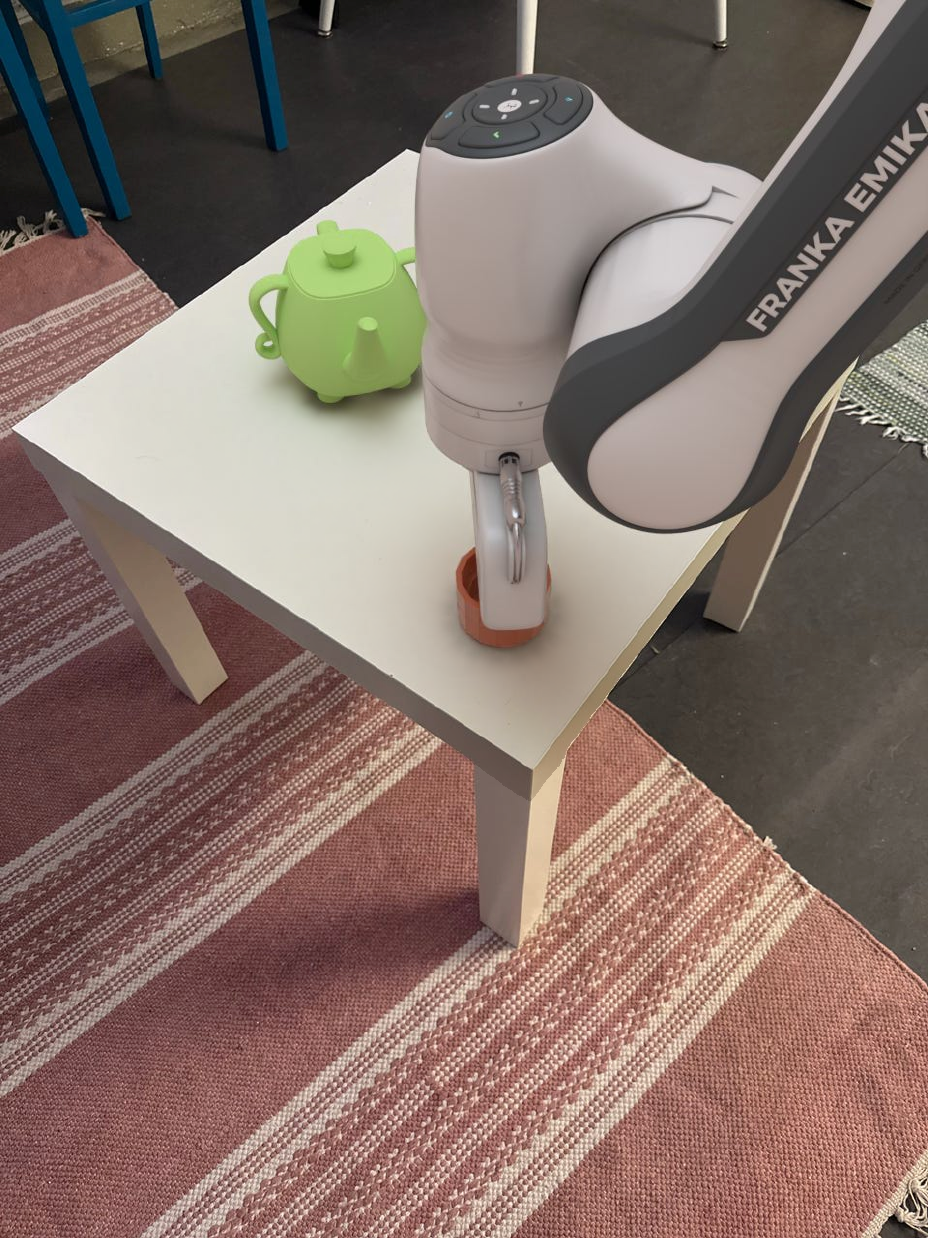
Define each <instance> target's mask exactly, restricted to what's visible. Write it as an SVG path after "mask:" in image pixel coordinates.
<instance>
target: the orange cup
mask: <svg viewBox="0 0 928 1238" xmlns="http://www.w3.org/2000/svg"><path fill="white" fill-rule="evenodd" d="M460 558H461V559H460V560H459V563H458V565H457V567H456V570H455V585H456V586H455V587H456V588H455V589H456V605H457V619H458V621H459V623H460V624H461V626H462V628H463V629H464V631H465V632H466V633H467V634H468V635H470V637H472V638H473V639H475V640H476V641H477V642H479V643H481V644H485V645H488V646H492V647H495V648H506V647H507V648H508V647H516V646H518V645H521V644H523V643H524V644H525V643H526V642H528V641H531V640H532V639H534V637H536V636H537V634H538V633H540V632H541V631H542V630H543V629H544V627H545V624H546V623H547V620H548V617H549V614H550V613H549V612H550V603H551V602H550V599H551V591H552V589H551V588H552V575H551V567H550V565H549V563H548V564H547V589H546V606H545V617H544V620H543V622H542V623H541V624H540V625H539V626H537V627H533V628H527V629H518V630H494V629H489V628H487V627H486V626H485V625H484V624H483V621H482V618H481V611H480V599H479V587H478V575H477V563H476V550H475V546H473V547H472V548H471V549H470V550H469V551H467V552H466V553H465V554H464V555H463V556H462V557H460Z"/></svg>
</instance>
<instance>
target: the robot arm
mask: <svg viewBox="0 0 928 1238" xmlns="http://www.w3.org/2000/svg"><path fill="white" fill-rule="evenodd" d="M416 169H417V170H416V178H415V193H414V194H415V196H414V220H413V221H414V222H413V224H414V225H413V226H414V227H413V230H414V231H413V233H414V236H413V237H414V238H413V240H414V247H415V263H414V267H415V268H414V269H415V286H416V288H417V293H418V297H419V301H420V304H421V306H422V309H423V311H424V313H425V316H426V322H427V325H426V329H425V333H424V336H423V340H422V347H421V376H422V391H423V392H422V393H423V402H424V406H423V407H424V420H425V421H424V422H425V427H426V432H427V435H428V437H429V439H430V440H431V442H432V443H433V445H434V446H435V448H436V449H437V450H438V451H439V452H440V453H441V454H443V456H445V457H446V458H447V459H449V460H450V461H452V462H454V463H455V464H457V465H459V466H461V467H462V468H464V469H466V470H467V471H468V477H469V487H470V488H469V489H470V499H471V514H472V525H473V536H474V537H473V538H474V547H475V550H476V563H477V575H478V587H479V599H480V611H481V618H482V621H483V624H484V625H485V626H486V627H487V628H489V629H494V630H518V629H527V628H533V627H537V626H539V625H540V624H541V623H542V622H543V620H544V617H545V606H546V589H547V564H548V565H549V563H548V561H549V560H548V557H549V550H548V547H549V546H548V544H549V543H548V528H547V522H546V521H547V520H546V514H545V513H546V512H545V507H544V506H545V505H544V499H543V493H542V485H541V478H540V472H539V469H540V468H541V467H544V466H546V465H548V464H550V463H552V464H553V466H554V467H555V469H556V470H557V472H558V473H559V474H560V476H561V477H562V478H563V479H564V481H565V482H566V484H567V485H568V486H569V487H570V488H571V489H572V490H573V492H574V493H575V494H576V495H577V496H578V497H579V498H580V499H582V501H583V502H584V503H585V504H587V505H588V506H590V507H591V508H592V509H593V510H594V511H595V512H597V513H598V514H600V515H601V516H603V517H605V518H606V519H608V520H610V521H612V522H613V523H616V524H618V525H621V526H623V527H625V528H628V529H631V530H635V531H638V532H642V533H643V532H644V533H649V534H655V535H657V534H659V535H673V534H683V533H689V532H694V531H699V530H703V529H706V528H710V527H713V526H715V525H718V524H721V523H723V522H726V521H728V520H730V519H732V518H734V517H736V516H739V515H740V514H742V513H744V512H745V511H748V510H749V509H750V508H752V507H753V506H755V505H756V504H758V503H760V502H761V501H762V500H764V499H765V498H767V496H769V495H770V494H771V493H772V492H773V491H774V490H775V489H776V488H777V487H778V485H779V484H780V483H781V481H782V480H783V478H784V477H785V475H786V473H787V472H788V470H789V468H790V466H791V464H792V462H793V459H794V456H795V455H796V452H797V449H798V446H799V444H800V442H801V439H802V437H803V434H804V432H805V429H806V427H807V425H808V424H809V421H810V419H811V418H812V415H813V414H814V412H815V410H816V409H817V407H818V406H819V405H820V403H821V401H822V400H823V398H824V397H826V395H827V393H828V392H829V391H830V390H831V388H832V387H833V386H834V385H835V384H836V382H837V381H838V380H839V379H840V378H841V377H842V375H843V374H844V373H845V372H846V371H847V370H848V369H849V368H850V367H851V365H853V363H855V361H856V360H857V359H858V358H859V357H860V356H861V355H862V354H863V353H864V351H865V350H866V349H868V348H869V346H870V345H871V344H872V343H873V342H874V341H875V340H876V339H877V338H878V337H879V336H880V334H881V333H882V332H884V331H885V330H886V329H887V327H888V326H889V325H891V323H892V322H893V321H894V320H895V319H896V317H897V316H898V315H900V314H901V313H902V311H903V310H904V309H905V308H906V307H907V306H908V305H909V304H910V303H911V301H913V300H914V299H915V298H916V296H918V294H919V293H920V292H921V291H922V290H923V289H924V288H925V287H926V285H927V284H928V0H874V2H873V5H872V7H871V9H870V12H869V14H868V16H867V18H866V21H865V23H864V25H863V27H862V29H861V31H860V33H859V35H858V37H857V39H856V41H855V44H854V45H853V47H852V49H851V51H850V53H849V55H848V57H847V58H846V61H845V63H844V64H843V66H842V68H841V70H840V71H839V73H838V74H837V76H836V78H835V79H834V80H833V82H832V85H831V86H830V88H829V89H828V91H827V92H826V94H825V95H824V97H823V98H822V100H821V101H820V103H819V104H818V106H817V107H816V109H814V111H813V113H812V114H811V116H810V117H808V120H807V121H806V122H805V124H804V125H803V126H802V128H801V129H800V131H799V132H798V133H797V134H796V136H795V137H794V138H793V140H792V141H791V143H790V144H789V146H788V147H787V148H786V150H785V151H784V153H783V154H782V155H781V156H780V158H779V159H778V161H777V162H776V163H775V165H774V166H773V167H772V169H771V170H770V172H769V173H768V174H767V176H766V177H765V179H763V178H761V177H760V176H759V175H757V174H755V173H753V172H751V170H748V169H746V168H743V167H741V166H739V165H735V164H732V163H727V162H723V161H717V160H699V159H696V158H692V157H690V156H687V155H684V154H682V153H680V152H677V151H675V150H672V149H670V148H667V147H665V146H663V145H662V144H660V143H657V142H655V141H654V140H652V139H650V138H648V137H646V136H645V135H643V134H641V133H640V132H638V131H636V130H634V129H633V128H631V127H630V126H628V125H627V124H626V123H624V122H623V121H622V120H621V119H619V118H618V117H617V116H615V114H614V113H613V112H612V111H611V110H610V109H609V108H608V107H607V105H606V104H605V103H604V101H602V99H601V98H600V96H599V95H598V94H597V93H596V92H595V91H594V90H592V89H591V88H590V87H589V86H588V85H586V84H584V83H582V82H581V81H578V80H576V79H573V78H570V77H567V76H562V75H556V74H550V73H524V74H515V75H511V76H507V77H502V78H499V79H496V80H491V81H489V82H485V83H484V84H483V85H482V86H479V87H477V88H475V89H473V90H471V91H469V92H467V93H465V94H462V95H461V96H460V97H458V98H457V99H456V100H455V101H453V102H452V103H451V104H450V105H449V106H448V107H447V108H446V109H445V110H444V111H443V112H442V114H440V116H439V117H438V118H437V119H436V121H435V122H434V124H433V125H432V127H431V128H430V130H429V131H428V133H427V134H426V137H425V139H424V141H423V143H422V146H421V149H420V153H419V157H418V163H417V167H416Z"/></svg>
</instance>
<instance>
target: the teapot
mask: <svg viewBox="0 0 928 1238" xmlns="http://www.w3.org/2000/svg"><path fill="white" fill-rule="evenodd" d="M316 233H317V234H316V235H312V236H309V237H306V238H304V239H302V240H300V241H298V242H297V243H295V245H293V246H292V248H291V249H290V251H289V253H288V255H287V258H286V261H285V263H284V267H283V270H282V273H273V274H268V275H265V276H263V277H261V278H260V279H259V280H257V281H256V282H255V283H254V284H253V285H252V286H251V288H250V291H249V293H248V306H249V309H250V312H251V314H252V316H253V318H254V319H255V321H256V322H257V324H258V325H259V327H260V328H261V329H262V331H263V332H262V333H259V334H258V335H257V336H256V338H255V340H254V348H255V351H256V353H257V354H258V355H259V357H261V358H262V359H265V360H278V359H279V358H280V357H281V358H282V359H283V361H284V363H285V364H286V367H288V369H289V370H290V372H291V373H292V374H293V375H294V376H295V377H296V378H297V379H298V380H299V381H300V382H302V384H304V385H305V386H307V387H308V388H309V389H311V390H313V391H315V392H316V393H317V395H316V396H317V397H318V400H320V401H321V402H323V403H327V404H334V403H337V402H339V401H341V400H343V399H344V397H351V396H356V395H363V394H369V393H373V392H378V391H381V390H384V389H387V388H390V389H394V390H396V389H397V390H398V389H403V388H405V387H408V385H410V383H411V381H412V375H413V373H414V372H415V371H416V370H417V369H418V367H419V366H420V365H421V364H422V361H421V347H422V340H423V336H424V333H425V329H426V325H427V322H426V316H425V313H424V311H423V309H422V306H421V304H420V301H419V297H418V293H417V286H416V283H415V282H414V281H413V278H412V277H411V275H410V273H409V271H408V270H407V268H406V267H405V266H406V265H408V264H415V246H414V247H407V248H403V249H400V250H398V251H396V252H395V251H394V250H393V248H392V247H391V246H390V244H389V243H388V242H387V241H386V240H385V239H384V238H383V237H382V236H381V235H379V234H378V233H376V232H374V231H372V230H369V229H365V228H348V229H341V230H340V229H339V226H338V223H337V222H336V221H335V220H333V219H325V220H322V221H319V222H318V223H317V224H316ZM273 291H277V295H276V301H275V308H274V309H275V310H274V311H275V313H274V317H275V319H274V322H275V325H273V323H272V322H271V321H270V319H269V318H268V317H267V315H266V313H265V312H264V311H263V308H262V306H261V300H262V298H263V297H265V295H267V294H269V293H270V292H273ZM268 342H271V343H272V344H270V345H264V344H266V343H268Z"/></svg>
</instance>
